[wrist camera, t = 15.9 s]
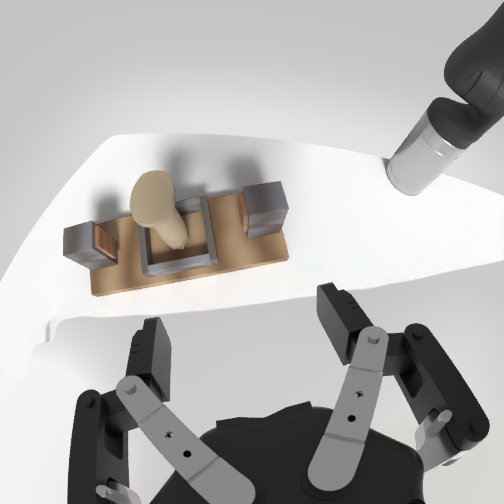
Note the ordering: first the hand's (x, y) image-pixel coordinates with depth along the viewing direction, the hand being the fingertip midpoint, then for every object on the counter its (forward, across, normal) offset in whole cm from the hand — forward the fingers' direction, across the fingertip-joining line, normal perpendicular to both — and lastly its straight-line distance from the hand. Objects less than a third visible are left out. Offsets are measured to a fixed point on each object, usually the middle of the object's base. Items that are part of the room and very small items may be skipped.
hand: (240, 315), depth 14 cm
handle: (+29, +7, +9) cm, 31 cm away
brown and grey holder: (+31, +7, +10) cm, 33 cm away
